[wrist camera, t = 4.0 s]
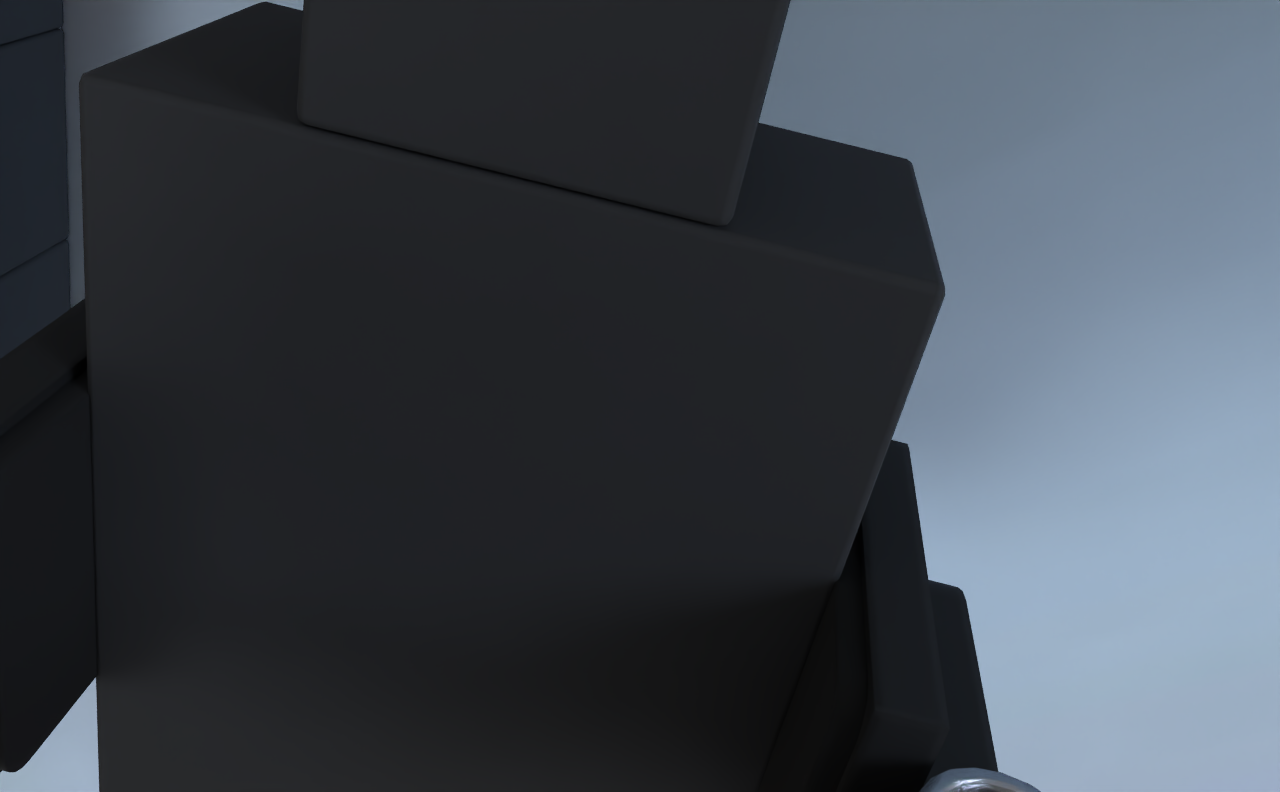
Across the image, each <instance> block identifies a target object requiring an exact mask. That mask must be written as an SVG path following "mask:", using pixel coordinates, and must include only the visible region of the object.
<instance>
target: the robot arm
mask: <svg viewBox="0 0 1280 792" xmlns="http://www.w3.org/2000/svg"><path fill="white" fill-rule="evenodd" d="M96 676H97V651H96V615H95V580H94V544H93V509H92V473H91V437H90V402H89V394H88V377H87V342H86V307H85V299H84V300H82V301H81V302H79V303H78V304H77V305H75V306H74V307H72V308H71V309H70V310H68V311H67V312H65V313H64V314H63V315H61V316H60V317H58V318H57V319H56V320H54V321H53V322H51V323H50V324H49V325H47V326H46V327H44V328H43V329H42V330H40V331H39V332H37V333H36V334H35V335H33V336H32V337H30V338H29V339H28V340H26V341H25V342H23V343H22V344H21V345H19V346H18V347H16V348H15V349H14V350H12V351H11V352H9V353H8V354H6V355H5V356H4V357H2V358H1V359H0V772H1V771H2V770H3V771H7V772H16V771H18V770H19V769H21V768H22V767H23V766H24V765H25V764H26V763H27V762H28V761H29V760H30V759H31V757H32V756H33V755H34V754H35V752H36V751H37V750H38V749H39V747H40V746H41V745H42V744H43V742H44V741H45V740H46V739H47V737H48V736H49V735H50V734H51V732H52V731H53V730H54V729H55V727H56V726H57V725H58V724H59V722H60V721H61V720H62V719H63V717H64V716H65V715H66V714H67V712H68V711H69V710H70V709H71V707H72V706H73V705H74V704H75V702H76V701H77V700H78V699H79V697H80V696H81V695H82V694H83V692H84V691H85V690H86V689H87V687H88V686H89V685H90V684H91V682H92V681H93V680H94V678H95V677H96ZM758 792H1041V791H1039V790H1038V789H1036V788H1035V787H1033V786H1032V785H1030V784H1028V783H1025V782H1023V781H1020V780H1018V779H1016V778H1013V777H1011V776H1008V775H1006V774H1004V773H1001V772H998V768H997V762H996V757H995V752H994V746H993V741H992V736H991V730H990V725H989V720H988V714H987V709H986V704H985V699H984V693H983V688H982V683H981V677H980V672H979V667H978V661H977V656H976V651H975V645H974V640H973V635H972V629H971V624H970V619H969V613H968V608H967V603H966V599H965V596H964V594H963V591H962V590H960V589H959V588H958V587H954V586H951V585H947V584H943V583H939V582H935V581H931V580H928V575H927V568H926V561H925V554H924V548H923V541H922V534H921V527H920V520H919V513H918V506H917V499H916V493H915V486H914V479H913V472H912V465H911V458H910V451H909V447H908V444H905V443H902V442H898V441H894V440H891V442H890V445H889V447H888V450H887V453H886V455H885V458H884V461H883V463H882V466H881V469H880V471H879V474H878V477H877V479H876V482H875V485H874V488H873V490H872V493H871V496H870V498H869V501H868V504H867V506H866V509H865V512H864V514H863V517H862V520H861V523H860V525H859V528H858V531H857V533H856V536H855V539H854V541H853V544H852V547H851V549H850V552H849V555H848V558H847V560H846V563H845V566H844V568H843V571H842V574H841V576H840V578H839V580H838V581H837V582H835V584H834V587H833V590H832V592H831V595H830V598H829V600H828V603H827V606H826V609H825V611H824V614H823V617H822V619H821V622H820V625H819V627H818V630H817V633H816V636H815V638H814V641H813V644H812V646H811V649H810V652H809V655H808V657H807V660H806V663H805V665H804V668H803V671H802V673H801V676H800V679H799V682H798V684H797V687H796V690H795V692H794V695H793V698H792V700H791V703H790V706H789V709H788V711H787V714H786V717H785V719H784V722H783V725H782V727H781V730H780V733H779V736H778V738H777V741H776V744H775V746H774V749H773V752H772V754H771V757H770V760H769V763H768V765H767V768H766V771H765V773H764V776H763V779H762V782H761V784H760V787H759V790H758Z"/></svg>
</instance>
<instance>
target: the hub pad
mask: <svg viewBox="0 0 1280 792" xmlns="http://www.w3.org/2000/svg"><path fill="white" fill-rule="evenodd" d="M62 24H63V4H62V0H0V359H1V358H2V357H4V356H5V355H6V354H8V353H9V352H11V351H12V350H14V349H15V348H16V347H18V346H19V345H21V344H22V343H23V342H25V341H26V340H28V339H29V338H30V337H32V336H33V335H35V334H36V333H37V332H39V331H40V330H42V329H43V328H44V327H46V326H47V325H49V324H50V323H51V322H53V321H54V320H56V319H57V318H58V317H60V316H61V315H63V314H64V313H65V312H67V311H68V310H70V284H69V245H68V241H67V240H66V238H67V237H68V234H69V227H68V188H67V149H66V110H65V70H64V33H63V31H62V30H61V29H59V28H60V27H61V26H62Z"/></svg>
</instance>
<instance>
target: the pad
mask: <svg viewBox="0 0 1280 792" xmlns="http://www.w3.org/2000/svg"><path fill="white" fill-rule="evenodd" d="M789 4H790V0H304V6H303V11H301V10H297V9H293V8H289V7H285V6H281V5H277V4H273V3H269V2H261V3H258V4H255V5H253V6H250V7H248V8H245V9H243V10H240V11H238V12H235V13H233V14H230V15H228V16H225V17H223V18H221V19H218V20H216V21H213V22H211V23H208V24H206V25H203V26H201V27H198V28H196V29H193V30H191V31H188V32H186V33H183V34H181V35H178V36H176V37H173V38H171V39H168V40H166V41H163V42H161V43H158V44H156V45H153V46H151V47H148V48H146V49H143V50H141V51H138V52H136V53H134V54H131V55H129V56H126V57H124V58H121V59H119V60H116V61H114V62H111V63H109V64H106V65H104V66H101V67H99V68H96V69H94V70H91V71H89V72H86V73H84V74H83V75H82V77H81V79H80V82H79V99H80V134H81V169H82V203H83V238H84V273H85V307H86V342H87V377H88V394H89V402H90V437H91V473H92V509H93V544H94V580H95V615H96V651H97V676H96V689H97V724H98V759H99V792H758V790H759V787H760V784H761V782H762V779H763V776H764V773H765V771H766V768H767V765H768V763H769V760H770V757H771V754H772V752H773V749H774V746H775V744H776V741H777V738H778V736H779V733H780V730H781V727H782V725H783V722H784V719H785V717H786V714H787V711H788V709H789V706H790V703H791V700H792V698H793V695H794V692H795V690H796V687H797V684H798V682H799V679H800V676H801V673H802V671H803V668H804V665H805V663H806V660H807V657H808V655H809V652H810V649H811V646H812V644H813V641H814V638H815V636H816V633H817V630H818V627H819V625H820V622H821V619H822V617H823V614H824V611H825V609H826V606H827V603H828V600H829V598H830V595H831V592H832V590H833V587H834V584H835V582H837V581H838V580H839V578H840V576H841V574H842V571H843V568H844V566H845V563H846V560H847V558H848V555H849V552H850V549H851V547H852V544H853V541H854V539H855V536H856V533H857V531H858V528H859V525H860V523H861V520H862V517H863V514H864V512H865V509H866V506H867V504H868V501H869V498H870V496H871V493H872V490H873V488H874V485H875V482H876V479H877V477H878V474H879V471H880V469H881V466H882V463H883V461H884V458H885V455H886V453H887V450H888V447H889V445H890V442H891V439H892V436H893V434H894V431H895V428H896V426H897V423H898V420H899V418H900V415H901V412H902V410H903V407H904V404H905V401H906V399H907V396H908V393H909V391H910V388H911V385H912V383H913V380H914V377H915V375H916V372H917V369H918V366H919V364H920V361H921V358H922V356H923V353H924V350H925V348H926V345H927V342H928V340H929V337H930V334H931V332H932V329H933V326H934V323H935V321H936V318H937V315H938V313H939V310H940V307H941V305H942V302H943V299H944V297H945V286H944V282H943V279H942V275H941V271H940V267H939V263H938V260H937V256H936V252H935V248H934V245H933V241H932V237H931V233H930V230H929V226H928V222H927V218H926V214H925V211H924V207H923V203H922V199H921V196H920V192H919V188H918V184H917V180H916V177H915V173H914V169H913V165H912V163H911V162H910V161H908V160H907V159H904V158H900V157H896V156H892V155H888V154H884V153H880V152H876V151H872V150H867V149H863V148H859V147H855V146H851V145H847V144H843V143H839V142H835V141H831V140H827V139H823V138H819V137H815V136H810V135H806V134H802V133H798V132H794V131H790V130H786V129H782V128H778V127H774V126H770V125H766V124H762V123H758V122H759V118H760V114H761V110H762V107H763V103H764V99H765V95H766V91H767V88H768V84H769V80H770V76H771V72H772V69H773V65H774V61H775V57H776V53H777V50H778V46H779V42H780V38H781V34H782V31H783V27H784V23H785V19H786V15H787V12H788V8H789Z"/></svg>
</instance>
